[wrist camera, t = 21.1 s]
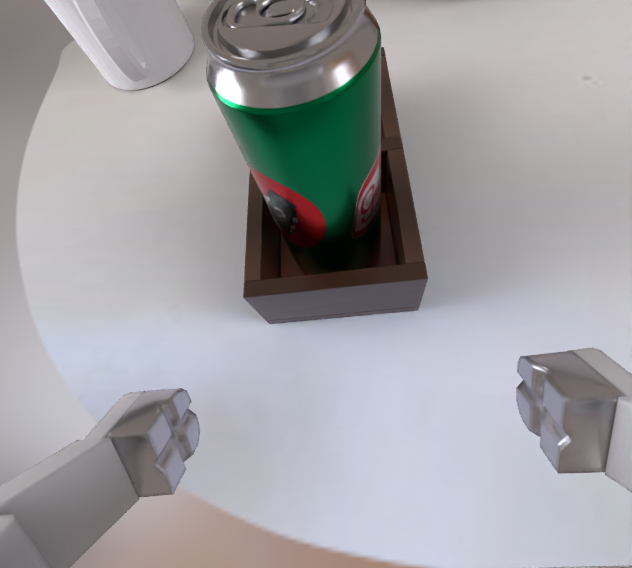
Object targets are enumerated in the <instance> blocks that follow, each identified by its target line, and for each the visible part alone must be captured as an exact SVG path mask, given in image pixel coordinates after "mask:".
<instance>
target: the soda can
mask: <svg viewBox="0 0 632 568" xmlns="http://www.w3.org/2000/svg"><path fill="white" fill-rule="evenodd" d="M365 3H366V0H214V2H213V3H212V4H211V5H210V7H209V8H208V10H207V12H206V14H205V16H204V19H203V22H202V28H201V29H202V39H203V42H204V45H205V47H206V49H207V50H208V59H207V67H206V75H207V81H208V84H209V87H210V90H211V92H212V94H213V96H214V98H215V100H216V102H217V104H218V106H219V108H220V110H221V112H222V114H223V116H224V118H225V120H226V122H227V124H228V126H229V128H230V130H231V132H232V134H233V136H234V138H235V140H236V142H237V144H238V146H239V148H240V150H241V152H242V154H243V156H244V158H245V160H246V162H247V165H248V167H249V169H250V171H251V173H252V175H253V177H254V179H255V181H256V183H257V185H258V187H259V189H260V191H261V193H262V195H263V197H264V199H265V201H266V203H267V205H268V207H269V209H270V211H271V213H272V215H273V217H274V219H275V221H276V223H277V225H278V227H279V229H280V231H281V233H282V235H283V237H284V240H285V242H286V244H287V246H288V248H289V250H290V252H291V254H292V256H293V258H294V259H295V261H296V263H297V264H298V265H299V266H300V267H301V268H302V269H303V270H304V271H306V272H307V273H309V274H311V275H312V274H321V273H330V272H339V271H348V270H357V269H364V268H365V267H366V266H367V265H368V264H369V263H370V262H371V261H372V260H373V258H374V257H375V255H376V254H377V251H378V249H379V246H380V242H381V33H380V27H379V25H378V23H377V21H376V19H375V17H374V16H373V14H372V13H371V11H370V10H369V9H368V7H367V6H366V4H365Z"/></svg>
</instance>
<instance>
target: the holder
mask: <svg viewBox="0 0 632 568" xmlns="http://www.w3.org/2000/svg"><path fill="white" fill-rule="evenodd" d="M424 261H425V260H424V255H423V250H422V245H421V239H420V234H419V229H418V224H417V218H416V213H415V208H414V203H413V197H412V192H411V187H410V182H409V177H408V171H407V166H406V161H405V156H404V150H403V145H402V140H401V135H400V130H399V125H398V119H397V114H396V109H395V104H394V98H393V93H392V88H391V83H390V77H389V72H388V67H387V62H386V57H385V51H384V47H381V242H380V246H379V249H378V251H377V254H376V255H375V257H374V258H373V260H372V261H371V262H370V263H369V264H368V265H367V266H366V267H365V268H364V269H357V270H348V271H339V272H330V273H321V274H312V275H311V274H309V273H307V272H306V271H304V270H303V269H302V268H301V267H300V266H299V265H298V264H297V263H296V261H295V259H294V258H293V256H292V254H291V252H290V250H289V248H288V246H287V244H286V242H285V240H284V237H283V235H282V233H281V231H280V229H279V227H278V225H277V223H276V221H275V219H274V217H273V215H272V213H271V211H270V209H269V207H268V205H267V203H266V201H265V199H264V197H263V195H262V193H261V191H260V189H259V187H258V185H257V183H256V181H255V179H254V177H253V175H252V173H251V171H250V176H249V196H248V215H247V235H246V255H245V275H244V294H243V298H244V299H245V300H246V301H247V302H248V303H249V304H250V305H251V306H252V307H253V308H254V309H255V310H256V311H257V312H258V313H259V314H260V315H261V316H262V317H263V318H264V319H265V320H266V321H267V322H268V323H269V324H274V323H285V322H296V321H307V320H317V319H328V318H339V317H350V316H361V315H372V314H383V313H394V312H404V311H415V310H418V309H419V306H420V302H421V299H422V296H423V293H424V289H425V286H426V283H427V279H428V276H427V270H426V265H425V262H424Z"/></svg>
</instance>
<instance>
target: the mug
mask: <svg viewBox="0 0 632 568" xmlns="http://www.w3.org/2000/svg"><path fill="white" fill-rule="evenodd" d="M45 1H46V3H47V4H48V5H49V7H50V8H51V9H52V11H53V12H54V13H55V14H56V16H57V17H58V18H59V20H60V21H61V22H62V23H63V25H64V26H65V27H66V29H67V30H68V31H69V33H70V34H71V35H72V36H73V37H74V39H75V40H76V42H77V43H78V44H79V45H80V47H81V48H82V49H83V51H84V52H85V53H86V55H87V56H88V57H89V58H90V60H91V61H92V62H93V64H94V65H95V66H96V67H97V69H98V70H99V71H100V73H101V74H102V75H103V77H104V78H105V79H106V80H107V82H108V83H109V84H111V85H112V86H114V87H116V88H118V89H122V90H139V89H144V88H148V87H151V86H154V85H156V84H158V83H161V82H163V81H164V80H166V79H168V78H169V77H171V76H172V75H174V74H175V73H176V72H178V71H179V70H180V69H181V68H182V67H183V66H184V65H185V64H186V62H187V61H188V60H189V58H190V56H191V54H192V52H193V48H194V40H193V36H192V34H191V31H190V29H189V27H188V25H187V23H186V21H185V19H184V17H183V14H182V12H181V10H180V8H179V6H178V4H177V2H176V0H45Z"/></svg>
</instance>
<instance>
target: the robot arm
mask: <svg viewBox="0 0 632 568" xmlns="http://www.w3.org/2000/svg"><path fill="white" fill-rule="evenodd" d="M517 372H518V373H519V375H520V376H521V377H522V379H523V381H522V382H521V383H520V384H519V386H518V387H517V388H516V400H517V405H518V409H519V413H520V415H521V417H522V420H523V422H524V423H525V425H526V426H527V428H528V429H529V431H531V432H533V433H534V434H536V435H538V436H540V437H541V438H540V448H541V449H542V451H543V452H544V453H545V455H546V456H547V458H548V459H549V461H550V462H551V464H552V465H553V467H554V468H555V470H556V471H557V473H592V472H605V475H607V476H608V477H610V478H611V479H612V480H614V481H615V482H617V483H618V484H620V485H621V486H623V487H624V488H626V489H627V490H629V491H630V492H632V374H631V373H629V372H628V371H627V370H625V369H624V368H623V367H621V366H620V365H619V364H618V363H616V362H615V361H614V360H612V359H611V358H610V357H608V356H607V355H606V354H605V353H603V352H602V351H601V350H599V349H595V348H586V349H578V350H570V351H566V352H557V353H548V354H538V355H529V356H520V358H519V361H518V367H517ZM190 403H191V399H190V397H189V394H188V392H187V391H186V390H184V389H182V388H179V389H166V390H152V391H140V392H130V393H127V394H125V395H123V396H122V397H121V398H120V399H119V401H118V402H117V403H116V404H115V405H114V406H113V407H112V408H111V409H110V410H109V412H108V413H107V414H106V415H105V416H104V417H103V418H102V419H101V420H100V421H99V423H98V424H97V425H96V426H95V427H94V428H93V429H92V430H91V431H90V433H89V434H88V435H87V436H86V437H85V438H84V439H83V440H76V441H75V442H73V443H71V444H70V445H68V446H66V447H65V448H63V449H61V450H60V451H58V452H56V453H55V454H53V455H51V456H50V457H48V458H46V459H44V460H43V461H41V462H39V463H38V464H36V465H34V466H33V467H31V468H29V469H28V470H26V471H24V472H23V473H21V474H19V475H18V476H16V477H14V478H13V479H11V480H9V481H8V482H6V483H4V484H3V485H1V486H0V568H69V567H70V566H72V564H74V563H75V561H77V560H78V559H79V558H80V557H81V556H82V555H83V554H84V553H85V552H86V551H87V550H88V549H89V548H90V547H91V546H92V545H93V544H94V543H95V542H96V541H97V540H98V539H99V538H100V537H101V536H102V535H103V534H104V533H105V532H106V531H107V530H108V529H109V528H110V527H111V526H112V525H114V523H116V521H118V519H120V518H121V517H122V516H123V515H124V514H125V513H126V512H127V511H128V510H129V509H130V508H131V507H132V506H133V505H134V504H135V503H136V502H137V501H138V500H139V497H148V496H159V495H169V494H174V492H175V490H176V488H177V486H178V484H179V482H180V480H181V478H182V476H183V474H184V472H185V470H186V468H185V464H184V461H185V460H187V459H188V458H189V457H190V456H191V455H193V454H194V452H195V449H196V447H197V445H198V441H199V435H200V427H199V421H198V418H197V416H196V414H194V413H193V412H192V411H191V410H189V409H188V408H189V406H190ZM541 568H632V565H629V566H584V567H541Z"/></svg>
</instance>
